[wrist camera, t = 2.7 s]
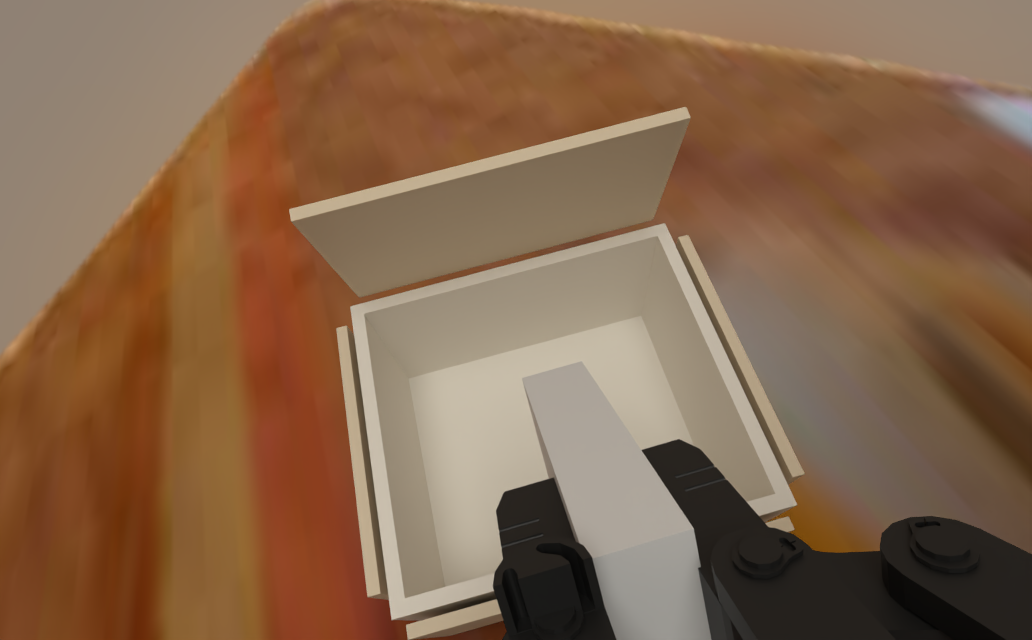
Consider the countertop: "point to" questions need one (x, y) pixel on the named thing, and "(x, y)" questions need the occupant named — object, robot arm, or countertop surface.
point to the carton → (506, 413)
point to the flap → (496, 205)
